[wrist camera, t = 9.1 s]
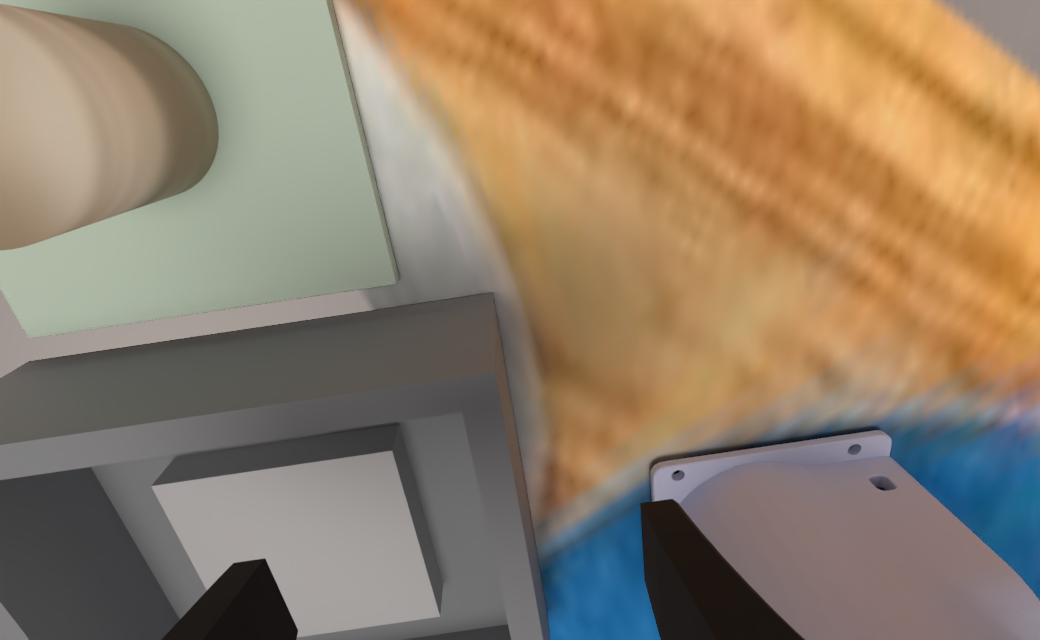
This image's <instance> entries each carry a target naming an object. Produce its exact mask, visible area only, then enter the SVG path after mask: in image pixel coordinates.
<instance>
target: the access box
mask: <svg viewBox="0 0 1040 640" xmlns="http://www.w3.org/2000/svg"><path fill="white" fill-rule="evenodd" d="M264 558H265V559H266V561H267V563H268V566H269V568H270V570H271V572H272V574H273V577H274V579H275V581H276V583H277V585H278V588H279V590H280V592H281V594H282V596H283V598H284V601H285V603H286V605H287V607H288V609H289V612H290V614H291V616H292V618H293V620H294V623H295V625H296V627H297V629H298V634H297V639H296V640H550V631H549V622H548V614H547V608H546V602H545V596H544V590H543V584H542V578H541V572H540V566H539V560H538V554H537V548H536V543H535V537H534V531H533V525H532V519H531V513H530V507H529V501H528V495H527V489H526V483H525V477H524V472H523V466H522V460H521V454H520V448H519V442H518V436H517V430H516V424H515V418H514V412H513V406H512V401H511V395H510V389H509V383H508V377H507V371H506V365H505V359H504V353H503V347H502V341H501V335H500V330H499V324H498V318H497V312H496V306H495V300H494V294H493V293H487V294H480V295H473V296H466V297H460V298H453V299H446V300H440V301H433V302H426V303H419V304H413V305H406V306H399V307H392V308H386V309H379V310H372V311H365V312H359V313H352V314H346V315H338V316H332V317H325V318H319V319H312V320H305V321H298V322H291V323H285V324H278V325H272V326H264V327H258V328H251V329H244V330H238V331H231V332H225V333H217V334H211V335H205V336H197V337H190V338H184V339H177V340H170V341H164V342H157V343H151V344H143V345H136V346H130V347H123V348H116V349H110V350H103V351H96V352H89V353H83V354H76V355H70V356H62V357H56V358H49V359H42V360H35V361H29V362H27V363H25V364H24V365H22V366H21V367H19V368H17V369H16V370H14V371H12V372H11V373H9V374H7V375H5V376H4V377H2V378H0V640H161V639H162V638H163V637H164V636H165V635H166V634H167V633H168V632H169V631H170V630H171V629H172V628H173V627H174V625H175V624H176V623H177V622H178V621H179V620H180V619H181V618H182V617H183V616H184V615H185V614H186V613H187V611H188V610H189V609H190V608H191V607H192V606H193V605H194V604H195V603H196V602H197V601H198V600H199V599H200V597H201V596H202V595H203V594H204V593H205V592H206V591H207V590H208V589H209V588H210V587H211V586H212V585H213V584H214V583H215V582H216V580H217V579H218V578H219V577H220V576H221V575H222V574H223V573H224V572H225V571H226V570H227V569H228V568H229V567H230V566H231V565H232V564H233V563H237V562H243V561H250V560H257V559H264Z"/></svg>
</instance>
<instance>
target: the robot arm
mask: <svg viewBox="0 0 1040 640" xmlns="http://www.w3.org/2000/svg"><path fill="white" fill-rule="evenodd" d="M852 445H854V446H852ZM891 445H892V439H891V438H890V437H889V436H888V435H887V434H886V433H885V432H883V431H881V430H874V431H867V432H861V433H854V434H847V435H840V436H833V437H826V438H820V439H813V440H806V441H799V442H792V443H786V444H779V445H772V446H765V447H758V448H751V449H745V450H738V451H731V452H724V453H717V454H711V455H704V456H697V457H690V458H683V459H676V460H670V461H663V462H659V463H657V464H656V465H654V466H653V468H652V469H651V473H650V475H651V497H652V502H647V503H640V505H641V523H642V540H643V557H644V575H645V583H646V586H647V590H648V594H649V598H650V602H651V605H652V609H653V613H654V616H655V620H656V624H657V627H658V631H659V635H660V638H661V640H1040V601H1039V599H1038V598H1037V597H1036V595H1035V594H1034V593H1033V591H1032V590H1031V589H1030V588H1029V587H1028V585H1027V584H1026V583H1025V582H1024V581H1023V580H1022V578H1021V577H1020V576H1019V575H1018V574H1017V573H1016V572H1015V571H1014V570H1013V569H1012V568H1011V567H1010V566H1009V565H1008V564H1007V563H1006V562H1005V561H1003V560H1002V559H1001V558H1000V557H999V556H998V555H997V554H996V553H995V552H994V551H993V550H991V549H990V548H989V547H988V546H987V545H986V544H985V543H984V542H983V541H982V540H981V539H979V538H978V537H977V536H976V535H975V534H974V533H973V532H972V531H971V530H970V529H969V528H967V527H966V526H965V525H964V524H963V523H962V522H961V521H960V520H959V519H958V518H957V517H955V516H954V515H953V514H952V513H951V512H950V511H949V510H948V509H947V508H946V507H945V506H943V505H942V504H941V503H940V502H939V501H938V500H937V499H936V498H935V497H934V496H933V495H931V494H930V493H929V492H928V491H927V490H926V489H925V488H924V487H923V486H922V485H921V484H919V483H918V482H917V481H916V480H915V479H914V478H913V477H912V476H911V475H910V474H909V473H908V472H906V471H905V470H904V469H903V468H902V467H901V466H900V465H899V464H898V463H897V462H896V461H894V460H893V459H892V458H891V457H890V450H891ZM851 446H852V447H851ZM850 447H851V448H850ZM677 470H681V471H680V472H679V473H677V474H672V473H673V472H674V471H677ZM297 634H298V629H297V627H296V625H295V623H294V620H293V618H292V616H291V614H290V612H289V609H288V607H287V605H286V603H285V601H284V598H283V596H282V594H281V592H280V590H279V588H278V585H277V583H276V581H275V579H274V577H273V574H272V572H271V570H270V568H269V566H268V563H267V561H266V559H265V558H264V559H257V560H250V561H243V562H237V563H233V564H232V565H231V566H230V567H229V568H228V569H227V570H226V571H225V572H224V573H223V574H222V575H221V576H220V577H219V578H218V579H217V580H216V582H215V583H214V584H213V585H212V586H211V587H210V588H209V589H208V590H207V591H206V592H205V593H204V594H203V595H202V596H201V597H200V599H199V600H198V601H197V602H196V603H195V604H194V605H193V606H192V607H191V608H190V609H189V610H188V611H187V613H186V614H185V615H184V616H183V617H182V618H181V619H180V620H179V621H178V622H177V623H176V624H175V625H174V627H173V628H172V629H171V630H170V631H169V632H168V633H167V634H166V635H165V636H164V637H163V638H162V639H161V640H296V639H297Z"/></svg>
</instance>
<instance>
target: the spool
mask: <svg viewBox="0 0 1040 640" xmlns="http://www.w3.org/2000/svg"><path fill="white" fill-rule="evenodd" d="M218 138H219V135H218V122H217V116H216V112H215V108H214V105H213V102H212V100H211V97H210V95H209V92H208V91H207V89H206V87H205V85H204V83H203V81H202V80H201V79H200V77H199V76H198V74H197V73H196V71H195V70H194V69H193V68H192V67H191V65H190V64H189V63H188V62H187V61H186V60H185V59H184V58H183V57H182V56H181V55H180V54H179V53H178V52H177V51H176V50H174V49H173V48H172V47H170V46H169V45H168V44H167V43H165V42H163V41H162V40H160V39H158V38H157V37H155V36H153V35H151V34H149V33H147V32H145V31H142V30H139V29H136V28H133V27H130V26H125V25H120V24H115V23H109V22H103V21H97V20H91V19H86V18H80V17H74V16H68V15H62V14H57V13H51V12H45V11H39V10H33V9H27V8H22V7H16V6H10V5H4V4H0V250H11V249H17V248H21V247H26V246H29V245H32V244H35V243H38V242H41V241H44V240H47V239H49V238H52V237H55V236H58V235H61V234H64V233H67V232H70V231H73V230H76V229H79V228H81V227H84V226H87V225H90V224H93V223H96V222H99V221H102V220H105V219H108V218H111V217H113V216H116V215H119V214H122V213H125V212H128V211H131V210H134V209H137V208H140V207H143V206H145V205H148V204H151V203H154V202H157V201H160V200H163V199H166V198H169V197H172V196H175V195H177V194H180V193H182V192H185V191H187V190H188V189H190V188H192V187H193V186H195V185H196V184H197V183H198V182H200V181H201V179H202V178H203V177H204V176H205V175H206V174H207V172H208V170H209V169H210V167H211V165H212V163H213V161H214V158H215V155H216V151H217V147H218Z"/></svg>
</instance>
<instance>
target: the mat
mask: <svg viewBox="0 0 1040 640" xmlns="http://www.w3.org/2000/svg"><path fill="white" fill-rule="evenodd" d="M0 4H4V5H10V6H16V7H22V8H27V9H33V10H39V11H45V12H51V13H57V14H62V15H68V16H74V17H80V18H86V19H91V20H97V21H103V22H109V23H115V24H120V25H125V26H130V27H133V28H136V29H139V30H142V31H145V32H147V33H149V34H151V35H153V36H155V37H157V38H158V39H160V40H162V41H163V42H165V43H167V44H168V45H169V46H170V47H172V48H173V49H174V50H176V51H177V52H178V53H179V54H180V55H181V56H182V57H183V58H184V59H185V60H186V61H187V62H188V63H189V64H190V65H191V67H192V68H193V69H194V70H195V71H196V73H197V74H198V76H199V77H200V79H201V80H202V81H203V83H204V85H205V87H206V89H207V91H208V92H209V95H210V97H211V100H212V102H213V105H214V108H215V112H216V116H217V122H218V135H219V138H218V147H217V151H216V155H215V158H214V161H213V163H212V165H211V167H210V169H209V170H208V172H207V174H206V175H205V176H204V177H203V178H202V179H201V181H200V182H198V183H197V184H196V185H195V186H193V187H192V188H190V189H188V190H187V191H185V192H182V193H180V194H177V195H175V196H172V197H169V198H166V199H163V200H160V201H157V202H154V203H151V204H148V205H145V206H143V207H140V208H137V209H134V210H131V211H128V212H125V213H122V214H119V215H116V216H113V217H111V218H108V219H105V220H102V221H99V222H96V223H93V224H90V225H87V226H84V227H81V228H79V229H76V230H73V231H70V232H67V233H64V234H61V235H58V236H55V237H52V238H49V239H47V240H44V241H41V242H38V243H35V244H32V245H29V246H26V247H21V248H17V249H11V250H0V289H1V291H2V293H3V294H4V296H5V298H6V300H7V301H8V303H9V305H10V307H11V308H12V310H13V312H14V314H15V315H16V317H17V319H18V321H19V322H20V324H21V326H22V328H23V329H24V331H25V333H26V335H27V336H28V338H37V337H43V336H50V335H57V334H63V333H70V332H77V331H83V330H90V329H97V328H104V327H111V326H117V325H124V324H131V323H137V322H144V321H151V320H157V319H164V318H171V317H178V316H184V315H191V314H198V313H205V312H211V311H218V310H225V309H232V308H238V307H245V306H252V305H259V304H264V303H272V302H279V301H285V300H292V299H299V298H306V297H312V296H319V295H325V294H332V293H339V292H346V291H353V290H359V289H366V288H373V287H380V286H386V285H393V284H397V281H398V279H399V275H398V271H397V267H396V263H395V259H394V255H393V251H392V246H391V242H390V238H389V234H388V230H387V226H386V222H385V218H384V214H383V210H382V205H381V201H380V197H379V193H378V189H377V185H376V181H375V177H374V173H373V168H372V164H371V160H370V156H369V152H368V148H367V144H366V140H365V136H364V132H363V127H362V123H361V119H360V115H359V111H358V107H357V103H356V99H355V95H354V91H353V86H352V82H351V78H350V74H349V70H348V66H347V62H346V58H345V54H344V49H343V45H342V41H341V37H340V33H339V29H338V25H337V21H336V17H335V13H334V8H333V4H332V0H0Z"/></svg>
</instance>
